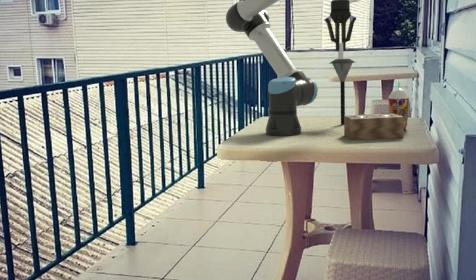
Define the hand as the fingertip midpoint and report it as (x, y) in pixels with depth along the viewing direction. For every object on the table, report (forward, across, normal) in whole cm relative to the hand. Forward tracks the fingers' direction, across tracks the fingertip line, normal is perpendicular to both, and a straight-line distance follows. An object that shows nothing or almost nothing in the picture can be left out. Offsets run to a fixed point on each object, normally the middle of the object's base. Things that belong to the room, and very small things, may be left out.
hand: (340, 59), depth 218 cm
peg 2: (+30, +14, -15) cm, 37 cm away
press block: (+30, +9, -15) cm, 35 cm away
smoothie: (+31, +24, -1) cm, 39 cm away
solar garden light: (+31, +6, +22) cm, 38 cm away
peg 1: (+30, +4, -15) cm, 34 cm away
